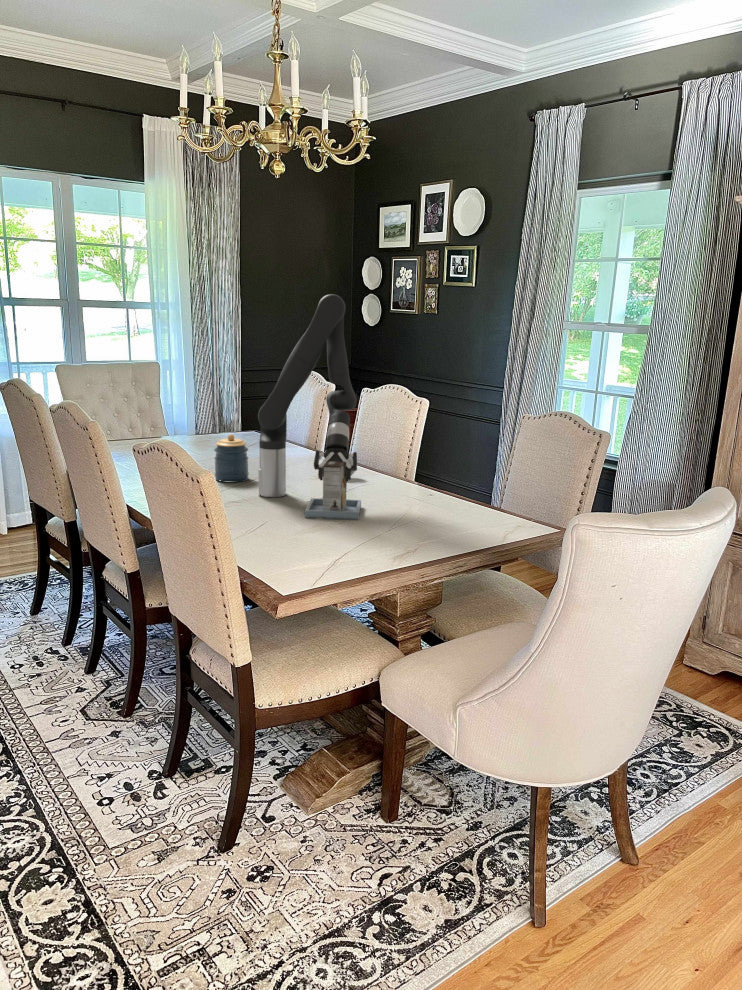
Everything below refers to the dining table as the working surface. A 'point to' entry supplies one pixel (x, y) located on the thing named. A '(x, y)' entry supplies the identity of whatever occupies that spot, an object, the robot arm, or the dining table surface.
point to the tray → (317, 511)
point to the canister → (231, 460)
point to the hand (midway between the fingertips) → (334, 479)
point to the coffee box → (334, 486)
